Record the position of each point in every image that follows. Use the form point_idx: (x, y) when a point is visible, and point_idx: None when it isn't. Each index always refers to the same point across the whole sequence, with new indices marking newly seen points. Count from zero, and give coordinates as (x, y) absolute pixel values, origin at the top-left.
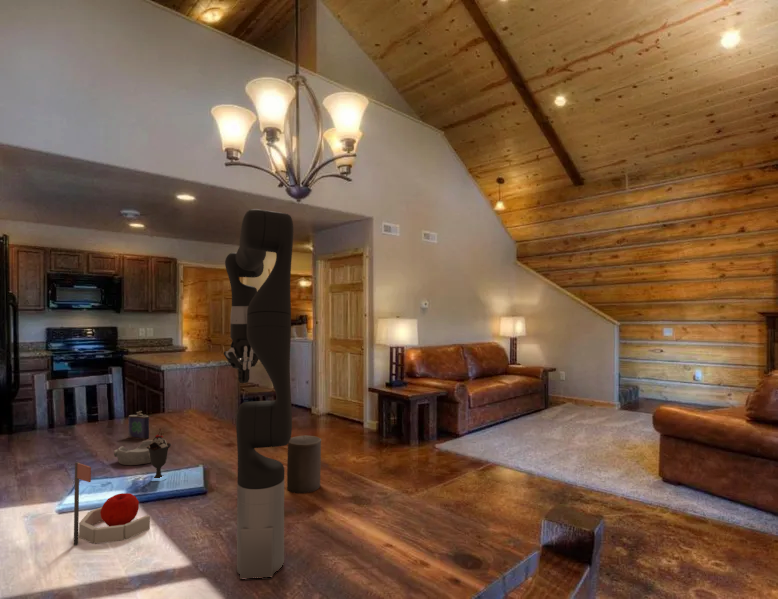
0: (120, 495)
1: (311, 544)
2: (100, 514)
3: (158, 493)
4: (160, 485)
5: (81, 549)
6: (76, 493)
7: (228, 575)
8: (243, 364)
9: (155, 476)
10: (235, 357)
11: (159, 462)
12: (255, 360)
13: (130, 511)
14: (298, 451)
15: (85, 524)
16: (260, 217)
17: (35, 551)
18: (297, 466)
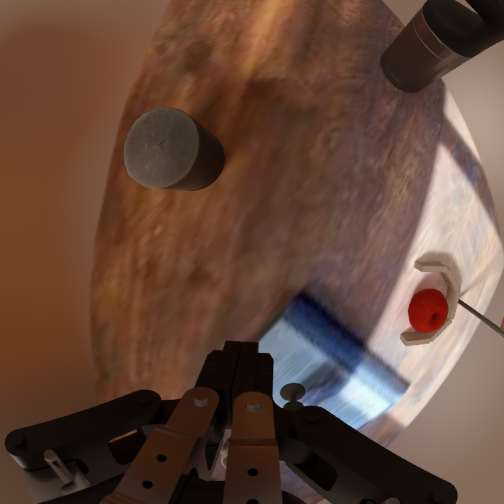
0: (431, 324)
1: (340, 42)
2: (420, 336)
3: (332, 351)
4: (308, 372)
5: (461, 283)
6: (489, 320)
7: (430, 92)
8: (267, 427)
9: (297, 396)
10: (380, 481)
11: (300, 404)
12: (113, 418)
13: (433, 290)
14: (202, 132)
15: (453, 311)
16: None
17: (469, 317)
18: (211, 141)
